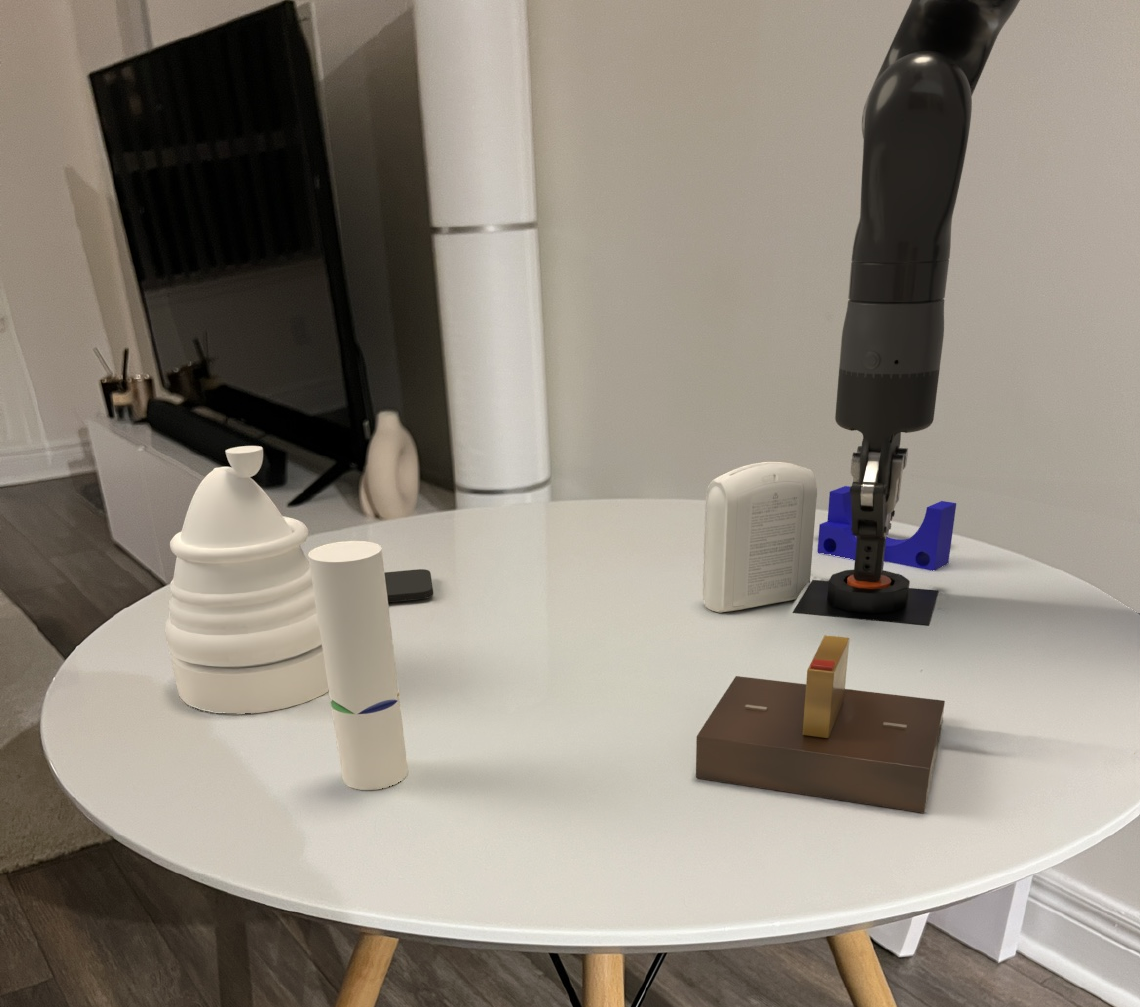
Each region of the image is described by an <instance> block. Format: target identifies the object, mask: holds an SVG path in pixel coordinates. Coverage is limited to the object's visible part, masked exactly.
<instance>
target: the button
mask: <svg viewBox="0 0 1140 1007" xmlns="http://www.w3.org/2000/svg"><path fill="white" fill-rule="evenodd" d="M847 584H848V585H850V586H854V587H857V588H867V589H878V588H887V587H889V586H891V579H890V578H889V577H887V576H885V575H881V577H880V580H879V581H878V582H866V581H857V580H855V578H854V574H853V575H851V576H849V577H848V578H847Z"/></svg>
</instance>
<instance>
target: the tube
mask: <svg viewBox="0 0 1140 1007" xmlns="http://www.w3.org/2000/svg"><path fill="white" fill-rule="evenodd" d="M307 556H308V561H309V564H310V570H311V577H312V583H313V590H314V597H315V603H316V610H317V616H318V623H319V629H320V636H321V642H322V649H323V656H324V662H325V669H326V675H327V682H328V688H329V691H328V694H329V699H330V700H331V701H330V708H331V714H332V719H333V720H332V721H333V728H334V734H335V740H336V746H337V747H336V748H337V752H338V760H339V765H340V766H339V767H340V773H341V779H342V783H344V785H345V786H347V787H349V788H352V789H355V790H359V791H375V790H383V789H387V788H390V787H393V786H395V785H397V784H399V783H401V782H402V781H403V780H404V779H405V778H406V777H407V776H408V774H409V768H408V767H409V766H408V760H407V759H408V758H407V751H406V743H405V742H406V741H405V734H404V725H403V718H402V717H403V716H402V709H401V708H402V707H401V699H400V692H399V683H398V676H397V667H396V658H395V650H394V649H395V648H394V642H393V633H392V624H391V617H390V607H389V602H388V598H387V590H386V582H385V573H384V572H385V567H384V566H385V565H384V558H383V549H382V546H381V544H378V543H376V542H372V541H365V540H345V541H337V542H331V543H326V544H323V545H320V546H316V547H315V548H312V549H311V550H310V551H309V552H308V555H307ZM407 773H408V774H407ZM406 775H407V776H406ZM405 776H406V777H405ZM403 778H404V779H403ZM400 781H401V782H400ZM398 782H399V783H398ZM392 785H393V786H392ZM389 786H390V787H389ZM382 788H383V789H382Z"/></svg>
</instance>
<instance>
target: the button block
mask: <svg viewBox="0 0 1140 1007" xmlns="http://www.w3.org/2000/svg"><path fill="white" fill-rule="evenodd" d="M853 574H854V569H846V570H845V569H844V570H842V571H838V572H836V573H833V574H831V576H830V577H829V579H828V580H821V579H820V580H819V579H812V580H810V582H809V585H808V586H807V588H806V590H805V591H804V593H803V594H802V596H801V597H800V599H799V601H798V602H797V604H796V606H795V607H794V609H793V611H792V614H797V615H798V614H799V615H809V616H810V615H811V616H819V617H820V616H821V617H830V618H840V619H853V620H863V621H870V622H871V621H873V622H882V623H893V624H903V625H914V626H925V627H929V626H930V624H931V620H932V617H933V613H934V610H935V606H936V603H937V599H938V597H939V593H940V591H939V590H937V589H927V588H915V587H914V588H913V587H910V585H911V580H909V579H908V578H906V577H905V576H904V575H903V574H900V573H897V572H896V573H895V572H892V571H889V570H884V569H883V573H882V575H885V576H887V577H889V578H890V579H891V586H889V587H887V588H878V589H867V588H857V587H854V586H850V585H848V584H847V578H848V577H849V576H851V575H853Z"/></svg>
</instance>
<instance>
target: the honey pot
mask: <svg viewBox="0 0 1140 1007" xmlns="http://www.w3.org/2000/svg"><path fill="white" fill-rule="evenodd" d="M224 452H225V455H226V456H225V457H226V458H227V461H228V463H229V465H230V466H219V467H214V468H213V470H211V471H210V472H209V473H208V474H206V475H205V477H204V478H203V479H202V480H201V481H200V483H199V485H198V486H197V487H196V489H195V492H194V494H193V496H192V498H191V501H190V503H189V506H188V508H187V512H186V514H185V517H184V521H183V525H182V528H181V530H180V531H179V532H177V533H176V534H174V536H173V537H172V538H171V540H170V542H169V548H170V551H171V553H172V554H173V555H175V556H176V560H175V564H174V565H175V566H174V572H173V578H172V580H171V581H170V583H169V591H170V594H171V596H170V598H169V601H168V612H169V616H168V618H167V620H166V622H165V624H164V635H165V639H166V643H167V648H168V652H169V658H170V662H171V667H172V671H173V676H174V680H175V684H176V689H177V694H178V697H179V696H180V697H181V698H182V699H183V700H184V701H185V702H186V703H188V704H191V705H193V706H196V707H198V708H200V709H205V710H210V711H213V712H222V713H223V712H225V713H237V714H236V715H239V714H238V713H241V714H240V715H246V714H245V713H251V714H261V713H268V712H272V711H279V710H284V709H288V708H291V707H294V706H297V705H302V704H305V703H307V702H310V701H312V700H314V699H317V698H318V697H322V696H323V695H325V694H327V693H329V688H328V682H327V675H326V669H325V662H324V656H323V649H322V642H321V636H320V629H319V623H318V616H317V610H316V603H315V597H314V590H313V583H312V577H311V570H310V564H309V559H308V558H307V556H306V554H305V552H304V551H303V549H302V546H301V545H303V543H305V542H306V541H307V539H308V537H309V529H308V527H307V526H306V525H305V523H304V522H302V521H301V520H298V519H296V518H292V517H288V516H283V515H282V513H281V512H280V510H279V509H278V507H277V506H276V504H275V503H274V502H273V500H272V499H271V498H270V497H269V495H268V494H267V493H266V491H264V489H263V488H262V487H261V486H260V485H259V484H258V483H257V482H256V481H255V480H254V479H253V478H252V477H253V476H256V475H257V474H258V472H259V471H260V469H261V468H262V465H263V461H264V448H263V447H262V446H261V445H260V446H259V445H244V446H243V445H242V446H235V447H230V448H228V449H225V451H224Z"/></svg>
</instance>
